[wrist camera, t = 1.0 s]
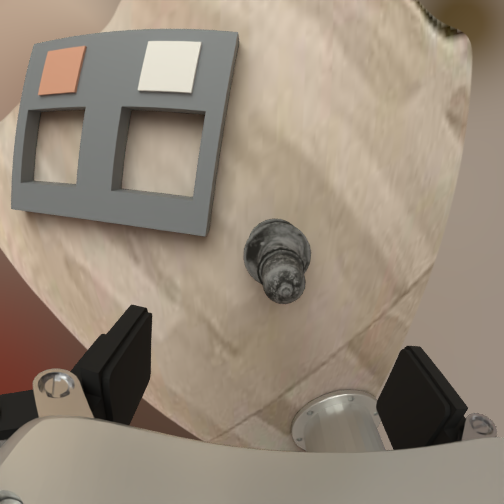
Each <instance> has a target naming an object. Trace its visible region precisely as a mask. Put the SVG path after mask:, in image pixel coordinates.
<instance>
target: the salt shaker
mask: <svg viewBox="0 0 504 504" xmlns="http://www.w3.org/2000/svg"><path fill="white" fill-rule="evenodd" d="M310 258H311V250H310V245H309V243H308V240H307V238H306V237H305V236H304V234H303V233H302V232H301V231H300V230H299V229H297V228H296V227H294V226H293V225H292V224H290V223H289V222H287V221H284V220H282V219H269V220H265V221H263V222H261V223H259V224H258V225H257V226H256V227H255V228H254V229H253V231H252V232H251V234H250V236H249V239H248V240H247V242H246V245H245V248H244V263H245V267H246V269H247V271H248V272H249V274H250V275H251V276H252V277H253V278H254V279H255V280H256V281H257V282H259V283H261V284H262V285H263V288H264V291H265V293H266V295H267V296H268V297H269V298H270V300H272V301H274V302H276V303H279V304H287V303H291V302H293V301H295V300H297V299H298V298H299V297H300V296H301V295H302V294H303V291H304V289H305V283H306V282H305V277H304V273H305V272H306V270H307V268H308V266H309V263H310Z"/></svg>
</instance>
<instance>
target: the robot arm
mask: <svg viewBox="0 0 504 504" xmlns="http://www.w3.org/2000/svg"><path fill="white" fill-rule="evenodd" d="M151 333H152V313H148V310H147V308H144V307H140V306H136V305H131V306H130V307H129V308H128V309H127V310H126V311H125V313H124V314H123V315H122V316H121V317H120V319H119V320H118V321H117V322H116V323H115V325H114V326H113V327H112V328H111V329H110V331H109V332H108V333H107V334H101V335H100V336H99V337H98V339H97V340H96V341H95V342H94V343H93V345H92V346H91V347H90V348H89V349H88V351H87V352H86V353H85V354H84V355H83V357H82V358H81V359H80V360H79V362H78V363H77V364H76V365H75V366H74V368H73V369H72V370H71V371H70V372H69V371H67V370H63V369H50V370H45V371H43V372H41V373H40V374H38V375H37V376H36V377H35V379H34V381H33V390H28V391H22V392H16V393H9V394H2V395H0V504H504V438H499V437H496V434H497V430H496V426H495V424H494V423H493V421H492V420H491V419H489V418H488V417H487V416H484V415H482V414H479V413H473V414H469V415H468V416H467V417H466V418H465V417H464V414H465V412H466V411H467V409H468V407H467V406H466V404H465V403H464V402H463V400H462V399H461V398H460V397H459V395H458V394H457V392H456V391H455V390H454V388H453V387H452V386H451V385H450V383H449V382H448V381H447V379H446V378H445V377H444V376H443V374H442V373H441V372H440V370H439V369H438V368H437V367H436V366H435V364H434V363H433V362H432V360H431V359H430V358H429V357H428V355H427V354H426V353H425V352H424V351H423V349H422V348H421V347H418V346H406V347H405V348H404V349H402V350H401V351H400V353H399V355H398V358H397V360H396V362H395V364H394V367H393V369H392V371H391V373H390V376H389V378H388V380H387V382H386V384H385V386H384V388H383V390H382V393H381V394H380V396H379V398H378V400H377V399H376V398H375V397H373V396H372V395H371V394H369V393H367V392H363V391H359V390H341V391H336V392H331V393H329V394H326V395H323V396H321V397H318V398H316V399H314V400H313V401H311V402H310V403H308V404H307V405H305V406H304V407H303V408H302V409H301V410H300V411H299V412H298V413H297V415H296V416H295V418H294V420H293V422H292V426H291V430H292V437H293V440H294V442H295V443H296V444H297V445H298V446H299V447H300V448H302V449H304V450H305V451H306V452H294V451H278V450H265V449H255V448H245V447H237V446H230V445H222V444H216V443H210V442H204V441H198V440H193V439H187V438H182V437H178V436H173V435H168V434H164V433H159V432H154V431H150V430H146V429H141V428H137V427H133V426H129V424H130V422H131V420H132V418H133V416H134V414H135V411H136V409H137V407H138V405H139V402H140V400H141V398H142V396H143V394H144V392H145V389H146V387H147V385H148V383H149V380H150V374H151ZM381 421H382V424H383V426H384V428H385V431H386V433H387V435H388V438H389V440H390V442H391V445H392V447H393V449H394V450H385V448H384V445H383V442H382V440H381V438H380V435H379V432H378V430H377V427H378V426H379V424H380V422H381Z"/></svg>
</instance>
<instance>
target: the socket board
mask: <svg viewBox="0 0 504 504" xmlns="http://www.w3.org/2000/svg"><path fill="white" fill-rule="evenodd" d="M238 46H239V36H238V32H229V31H217V30H199V29H143V30H126V31H114V32H104V33H95V34H87V35H80V36H74V37H68V38H62V39H57V40H52V41H46V42H42V43H37V44H34V46H33V50H32V53H31V57H30V61H29V65H28V69H27V73H26V78H25V82H24V87H23V92H22V97H21V102H20V108H19V114H18V121H17V128H16V136H15V145H14V156H13V169H12V192H11V209H15V210H22V211H30V212H37V213H44V214H52V215H59V216H66V217H73V218H80V219H88V220H95V221H102V222H109V223H116V224H123V225H130V226H137V227H144V228H151V229H158V230H165V231H171V232H178V233H185V234H192V235H199V236H206V235H207V233H208V232H209V228H210V220H211V212H212V205H213V197H214V190H215V183H216V176H217V169H218V162H219V156H220V149H221V143H222V136H223V130H224V124H225V118H226V112H227V106H228V100H229V94H230V89H231V83H232V77H233V72H234V67H235V61H236V56H237V51H238ZM66 110H85V115H84V121H83V128H82V135H81V143H80V151H79V160H78V171H77V184H67V183H55V182H42V181H34V165H35V154H36V144H37V135H38V128H39V121H40V114H41V112H48V111H66ZM131 110H145V111H164V112H179V113H191V114H202V115H205V119H204V126H203V132H202V138H201V145H200V151H199V158H198V165H197V172H196V180H195V187H194V195H193V197H187V196H180V195H172V194H164V193H155V192H147V191H138V190H129V189H121V185H122V175H123V166H124V157H125V149H126V142H127V135H128V128H129V121H130V115H131Z"/></svg>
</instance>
